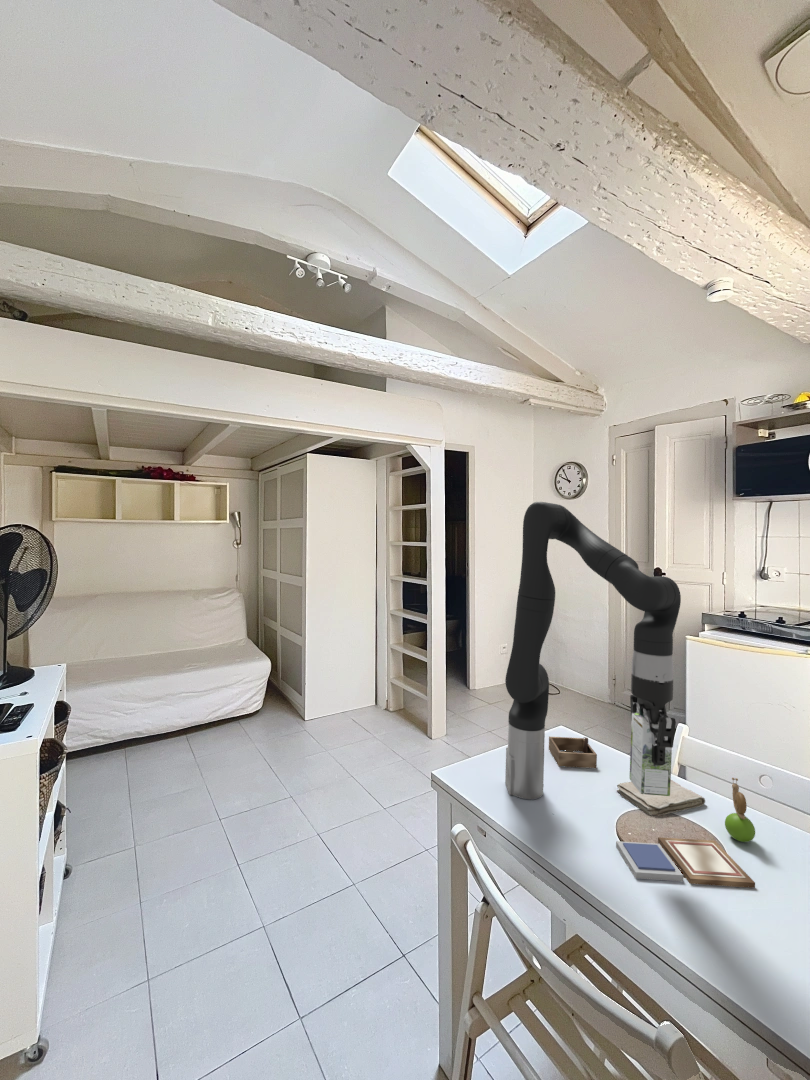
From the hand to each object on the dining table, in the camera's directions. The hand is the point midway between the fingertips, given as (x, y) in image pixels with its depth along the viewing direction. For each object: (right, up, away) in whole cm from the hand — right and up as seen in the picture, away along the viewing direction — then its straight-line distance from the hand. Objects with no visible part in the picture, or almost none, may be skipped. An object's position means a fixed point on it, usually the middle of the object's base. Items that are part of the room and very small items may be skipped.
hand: (650, 756), depth 91 cm
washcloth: (+15, -23, +24) cm, 36 cm away
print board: (+11, -22, 0) cm, 25 cm away
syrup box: (0, -7, 0) cm, 7 cm away
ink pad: (-1, -22, 0) cm, 22 cm away
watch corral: (0, -22, +44) cm, 49 cm away
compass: (0, -22, +43) cm, 48 cm away
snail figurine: (+24, -23, +9) cm, 34 cm away
